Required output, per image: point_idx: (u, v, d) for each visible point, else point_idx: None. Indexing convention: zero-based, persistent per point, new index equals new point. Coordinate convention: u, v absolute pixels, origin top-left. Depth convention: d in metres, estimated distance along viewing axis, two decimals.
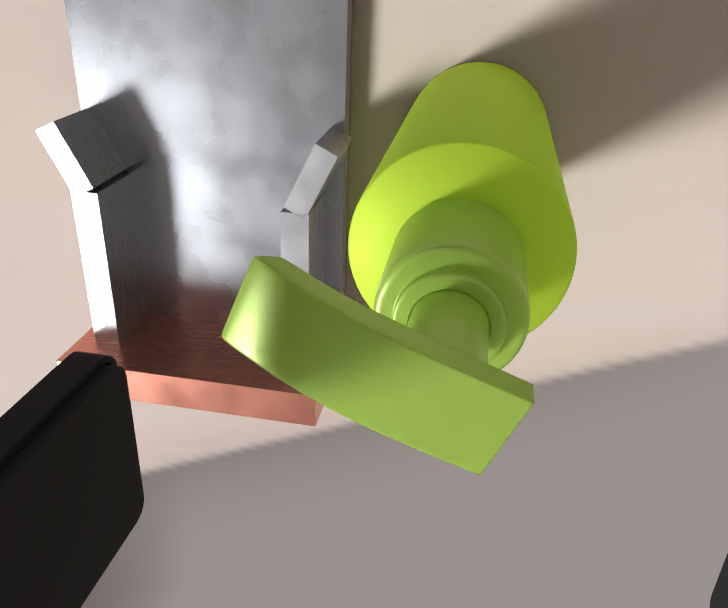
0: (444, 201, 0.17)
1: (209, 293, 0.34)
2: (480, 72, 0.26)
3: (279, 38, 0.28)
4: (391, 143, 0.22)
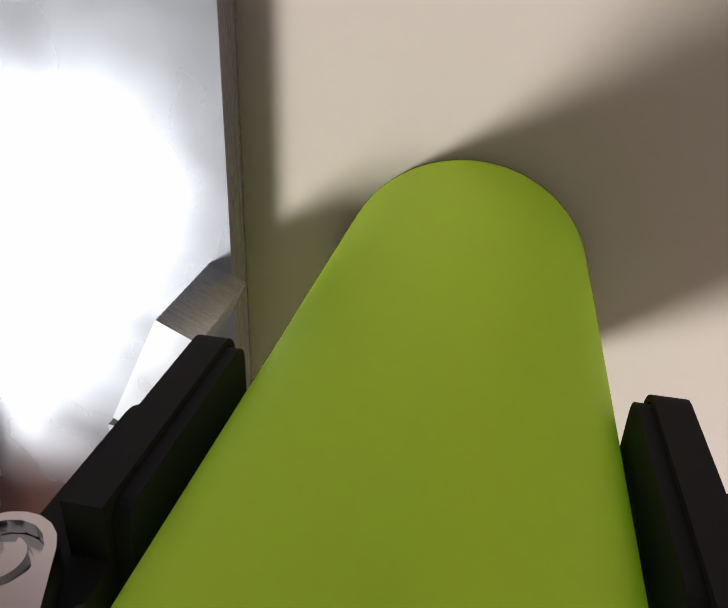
0: None
1: (45, 494, 0.22)
2: (459, 199, 0.13)
3: (106, 116, 0.16)
4: (232, 413, 0.09)
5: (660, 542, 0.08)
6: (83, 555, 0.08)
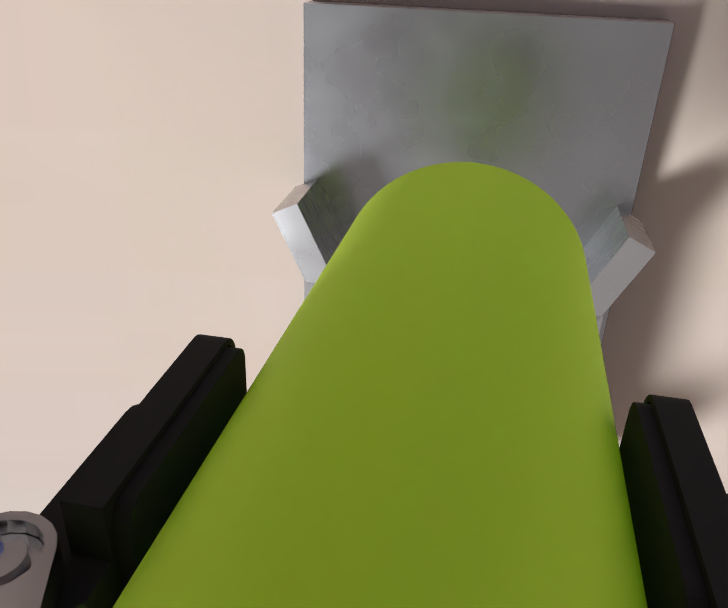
0: None
1: None
2: (459, 201, 0.13)
3: (568, 105, 0.23)
4: (231, 417, 0.09)
5: (660, 542, 0.08)
6: (83, 555, 0.08)
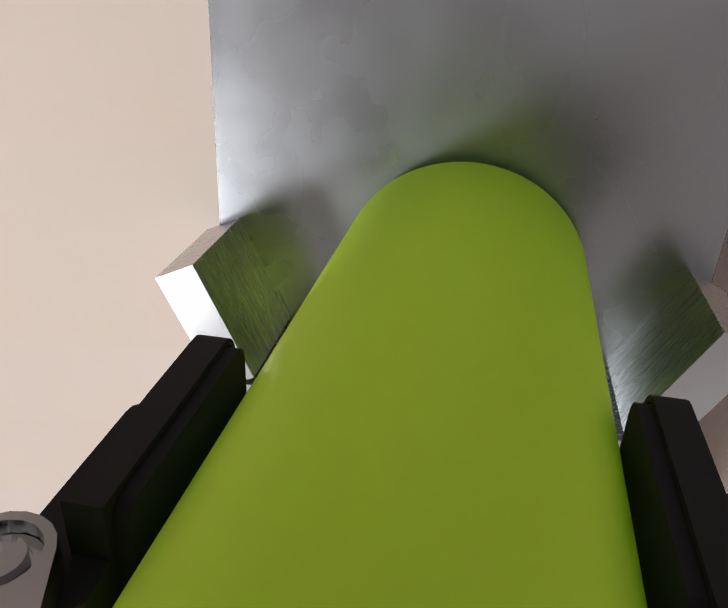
0: None
1: None
2: (459, 201, 0.13)
3: (622, 115, 0.15)
4: (232, 416, 0.09)
5: (660, 542, 0.08)
6: (83, 555, 0.08)
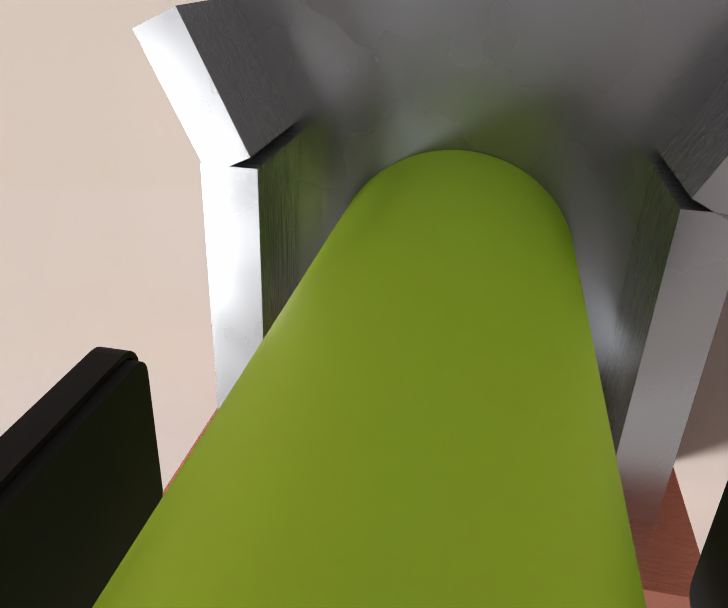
0: None
1: None
2: (450, 185, 0.13)
3: None
4: (232, 388, 0.10)
5: None
6: None
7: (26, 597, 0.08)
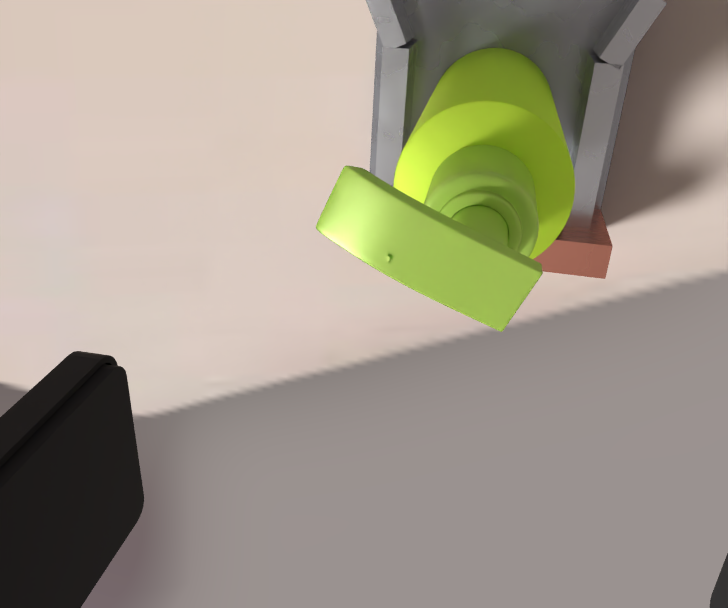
0: (472, 146, 0.21)
1: None
2: (496, 55, 0.30)
3: None
4: (424, 109, 0.27)
5: None
6: None
7: None
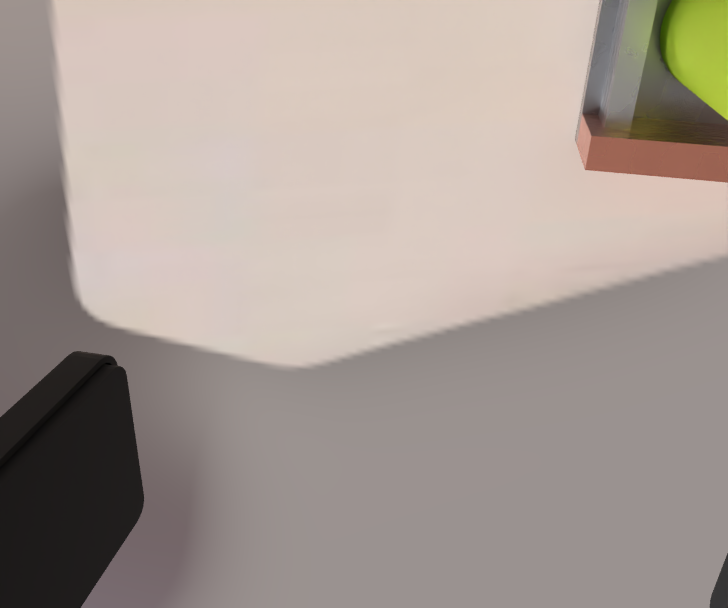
0: None
1: None
2: None
3: None
4: (722, 3, 0.26)
5: None
6: None
7: None
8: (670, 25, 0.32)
